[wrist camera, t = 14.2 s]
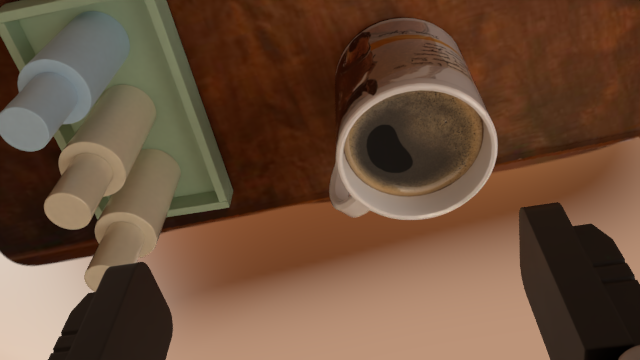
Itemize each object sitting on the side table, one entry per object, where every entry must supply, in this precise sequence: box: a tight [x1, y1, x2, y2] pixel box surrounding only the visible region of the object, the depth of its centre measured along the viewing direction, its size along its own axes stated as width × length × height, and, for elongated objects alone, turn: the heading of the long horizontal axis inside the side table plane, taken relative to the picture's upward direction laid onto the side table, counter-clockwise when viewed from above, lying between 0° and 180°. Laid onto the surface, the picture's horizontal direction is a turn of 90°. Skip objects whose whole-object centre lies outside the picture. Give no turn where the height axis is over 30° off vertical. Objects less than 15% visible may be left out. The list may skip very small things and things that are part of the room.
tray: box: [0, 0, 233, 219], centre depth 46 cm, size 19×11×2 cm, turn 12°
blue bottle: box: [0, 11, 130, 151], centre depth 38 cm, size 4×4×13 cm
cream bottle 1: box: [44, 85, 156, 230], centre depth 41 cm, size 4×4×13 cm
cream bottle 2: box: [84, 149, 181, 292], centre depth 44 cm, size 4×4×13 cm
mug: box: [329, 18, 498, 220], centre depth 41 cm, size 10×12×11 cm
